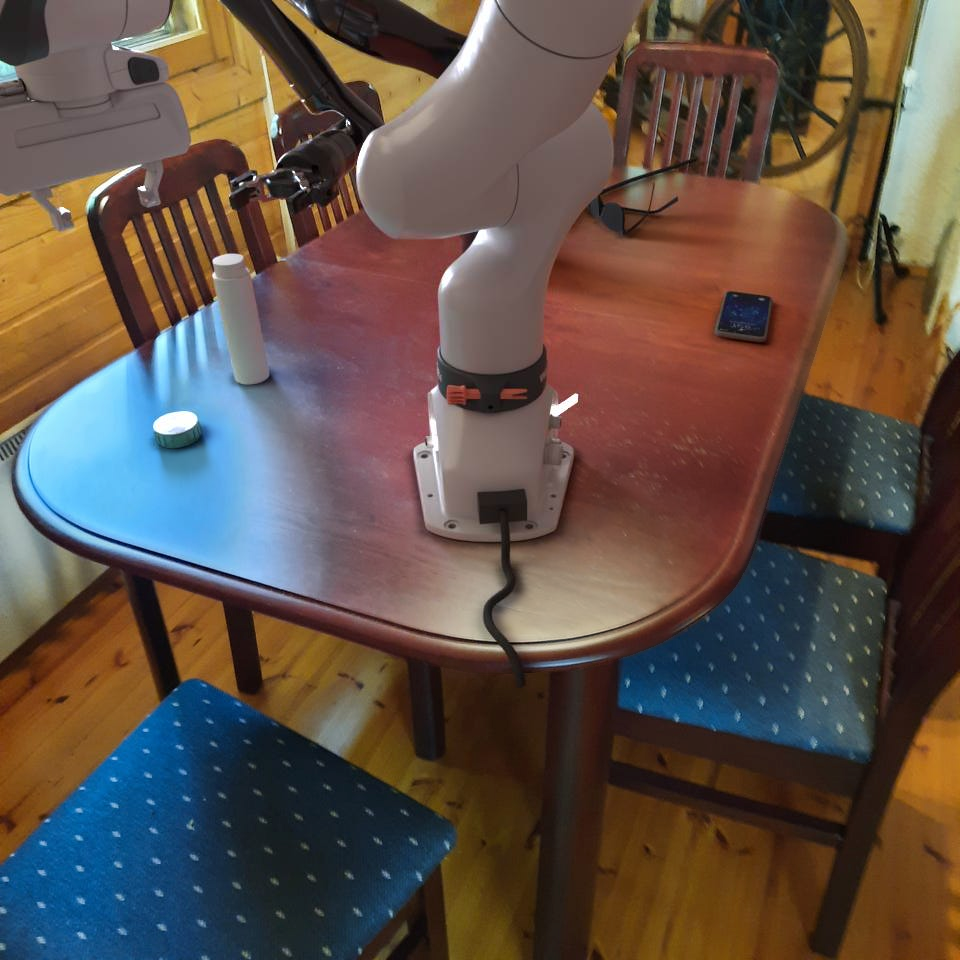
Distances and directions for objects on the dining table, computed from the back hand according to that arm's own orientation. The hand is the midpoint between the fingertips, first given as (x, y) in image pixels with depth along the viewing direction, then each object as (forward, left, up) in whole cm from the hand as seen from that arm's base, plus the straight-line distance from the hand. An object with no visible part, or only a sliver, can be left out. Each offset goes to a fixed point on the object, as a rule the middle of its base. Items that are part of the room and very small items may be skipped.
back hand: (261, 205), depth 114 cm
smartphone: (-47, +49, -20) cm, 71 cm away
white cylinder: (+10, +5, -20) cm, 23 cm away
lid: (+25, +10, -18) cm, 32 cm away
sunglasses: (-74, +13, -20) cm, 77 cm away
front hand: (+26, +10, +8) cm, 29 cm away
